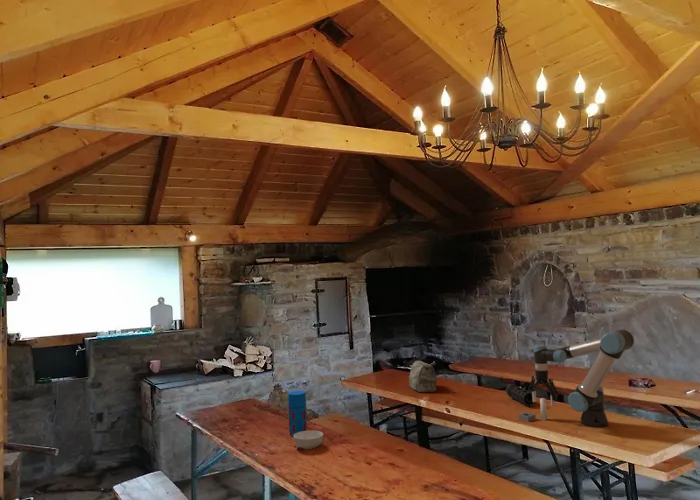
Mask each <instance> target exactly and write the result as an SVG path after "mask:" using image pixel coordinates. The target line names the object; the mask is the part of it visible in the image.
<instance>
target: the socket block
mask: <svg viewBox="0 0 700 500" xmlns="http://www.w3.org/2000/svg"><path fill="white" fill-rule="evenodd" d="M517 417H518V420H521V421H525V422H527V423H528V422H532V421H535V420H536V419H537V416H536V414H533V413H529V412H526V411H525V412H521V413H518V416H517Z"/></svg>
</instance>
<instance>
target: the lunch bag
mask: <svg viewBox="0 0 700 500" xmlns="http://www.w3.org/2000/svg"><path fill="white" fill-rule="evenodd" d="M436 374H437V373H436V372H435V368H434V367H433V365H432V364H429V363H426V362H424V361H422V360H415V361H414V362H413V363H412V365H411V368H410V371H409V376H408V381H409V385H408V386H409V387H410V388H411V389H412V390H413V391H414V390H415V391H417V393H431V392H433V393H434V392H437V384H438V383H437V382H438V381H437V375H436Z"/></svg>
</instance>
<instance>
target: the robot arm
mask: <svg viewBox="0 0 700 500" xmlns="http://www.w3.org/2000/svg"><path fill="white" fill-rule="evenodd" d="M634 343H635V338H634V335H633V333H632V332H630V331H629V330H626V329H618V330H614V331H608V332H606V333H604V334H603V335H602V336H601V338H595V339H592V340H588V341H584V342H580V343H579V342H578V343H576V344H571V345H566V346H563V347H559V348H555V349H551V348H550V349H549V348H547V345H546V344H545V345H544V344H535V345H534V346H533V353H534V368H535V370H534V371H535V373H534V374H535V375H532V376H531V380H530V383H529V386H528V388H527V389H528V391H530V393H531V395H532V398H533V402H535V403H536V402H537V391H536V389H537V388H538V387H539V385H542V386H545V388H546V389H547V390H548V392H549V393H550V406H551V407H554V406H556V395H559V392H558V390H557V388H556V386H555V383H554V380H553V378H549V377H548V376H549V370H548V369H549V368H548V362H554V363H559V364H560V363H565V361H566V360H568V359H574V358H579V357H582V356H587V355H591V354H595V353H596V354H597V353H598V354H597V356H596V358H595V360H594V362H593V364H592V365H591V368H590V369H589V371H588V372H587V374H586V375H585V378H584V380H583V381H582V383H579V384H577V386H576V388H575V389H574V391H572V392H571V393H570V394H569V395H568V397H567V401H568V405H569V406H570V408H571V409H572V410H573V411H576V412H578V413H581V416H580V424H582V425H584V426H587V427H594V428H595V427H596V428H602V427H603V428H604V427H607V426H609V419H608V417H607V414H606V412H605V398H604V388H603V386H601V385H602V383H603V381H604V380H605V378H606V376H607V374H608V373H609V371H610V370H611V367H612V366H613V364H614V363H615V361H616V360H620V359H621V357H622V355H623V353H624V352H625V351H627V350H629V349H631V348H632V347H634V346H633V345H634Z"/></svg>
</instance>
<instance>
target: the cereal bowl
mask: <svg viewBox="0 0 700 500" xmlns="http://www.w3.org/2000/svg"><path fill="white" fill-rule="evenodd" d="M323 440H324V433H323V432H322V431H319V430H313V429H312V430H311V429H310V430H307V431H301V432H298V433H296V434H294V436H293V442H294V444H295V445H296V446H297V447H299V448H301V449H302V450H303V449H304V450H312V448H313V449H315V448H316V447H318V446H321V444H322V443H323V442H324V441H323Z"/></svg>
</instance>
